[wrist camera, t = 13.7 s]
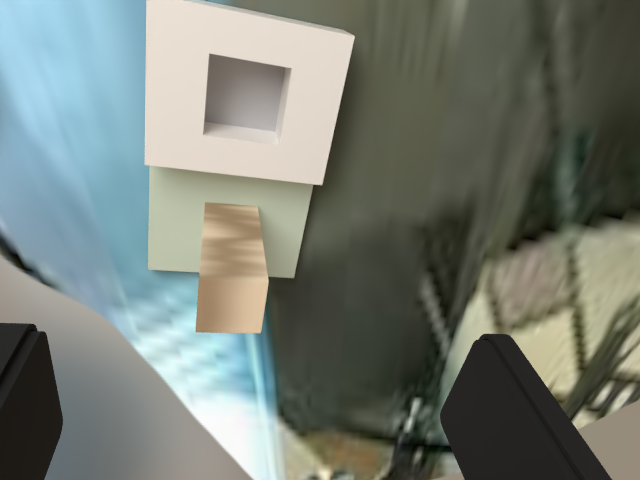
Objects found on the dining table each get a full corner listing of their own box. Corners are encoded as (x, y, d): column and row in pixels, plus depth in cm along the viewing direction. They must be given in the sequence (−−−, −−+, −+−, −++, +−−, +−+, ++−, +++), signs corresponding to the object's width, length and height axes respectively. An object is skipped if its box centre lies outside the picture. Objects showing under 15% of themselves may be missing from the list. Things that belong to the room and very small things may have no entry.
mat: (311, 178, 36) (313, 183, 35) (292, 271, 40) (293, 278, 39) (151, 159, 33) (149, 164, 32) (149, 262, 37) (148, 269, 36)
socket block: (342, 29, 30) (354, 36, 27) (313, 167, 35) (322, 185, 32) (154, -11, 27) (146, -8, 24) (151, 146, 32) (144, 164, 29)
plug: (257, 206, 35) (268, 282, 27) (252, 249, 37) (260, 333, 28) (205, 201, 34) (198, 279, 26) (202, 246, 36) (195, 332, 27)
